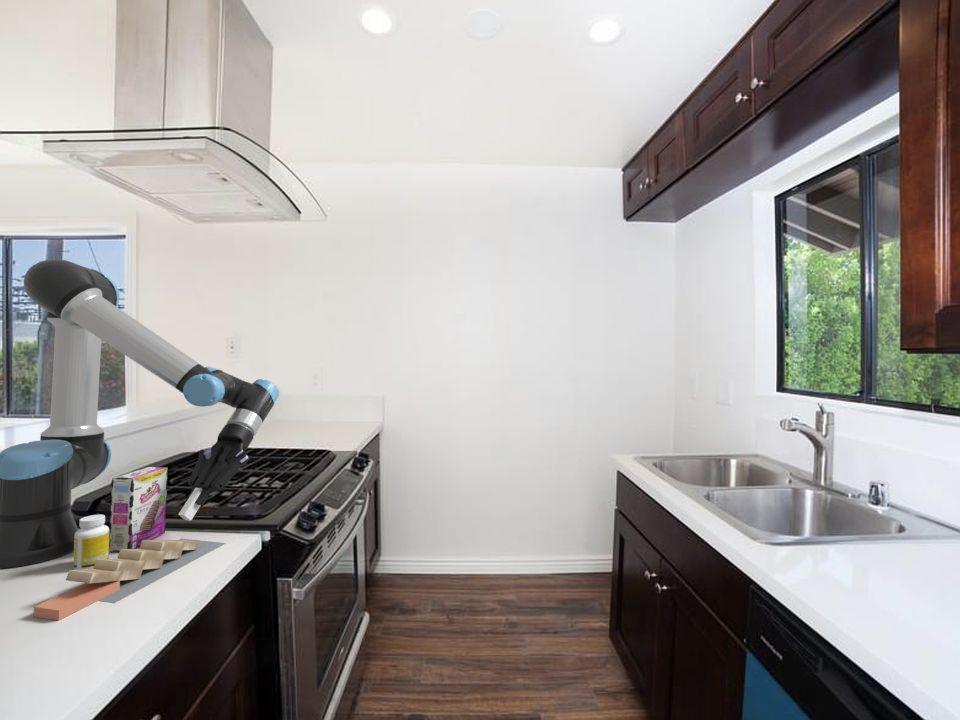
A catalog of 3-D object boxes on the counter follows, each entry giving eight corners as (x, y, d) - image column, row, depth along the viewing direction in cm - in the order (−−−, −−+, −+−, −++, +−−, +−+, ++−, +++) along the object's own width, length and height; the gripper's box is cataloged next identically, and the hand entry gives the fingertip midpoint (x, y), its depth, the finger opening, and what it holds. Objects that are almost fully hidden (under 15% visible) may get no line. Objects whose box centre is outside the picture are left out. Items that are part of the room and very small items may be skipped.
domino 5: (180, 539, 100) (142, 540, 91) (199, 541, 99) (163, 542, 90) (177, 547, 99) (139, 548, 90) (197, 549, 99) (160, 551, 89)
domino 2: (121, 566, 87) (69, 570, 77) (142, 569, 86) (92, 573, 77) (118, 575, 86) (65, 580, 77) (139, 578, 85) (89, 583, 76)
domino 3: (142, 557, 91) (96, 559, 82) (163, 559, 90) (119, 561, 81) (140, 565, 91) (93, 568, 81) (161, 568, 90) (115, 571, 80)
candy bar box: (131, 553, 97) (132, 478, 97) (108, 553, 97) (109, 477, 97) (167, 533, 108) (168, 466, 108) (146, 533, 108) (148, 465, 108)
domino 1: (97, 577, 82) (34, 606, 72) (119, 580, 81) (59, 610, 71) (97, 586, 82) (33, 616, 72) (119, 589, 81) (58, 620, 71)
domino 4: (162, 548, 96) (120, 549, 86) (182, 550, 95) (142, 551, 86) (160, 556, 95) (117, 558, 86) (180, 558, 94) (139, 560, 85)
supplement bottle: (115, 560, 93) (116, 513, 93) (90, 572, 88) (91, 523, 88) (92, 558, 94) (93, 512, 94) (65, 570, 88) (66, 521, 88)
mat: (181, 539, 104) (181, 538, 104) (226, 544, 102) (226, 543, 102) (58, 596, 79) (58, 595, 79) (114, 604, 77) (114, 602, 77)
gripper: (269, 440, 116) (219, 527, 100) (225, 438, 118) (169, 522, 102) (255, 423, 111) (200, 511, 94) (210, 420, 113) (148, 507, 97)
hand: (184, 517), depth 98 cm, fingers closed
